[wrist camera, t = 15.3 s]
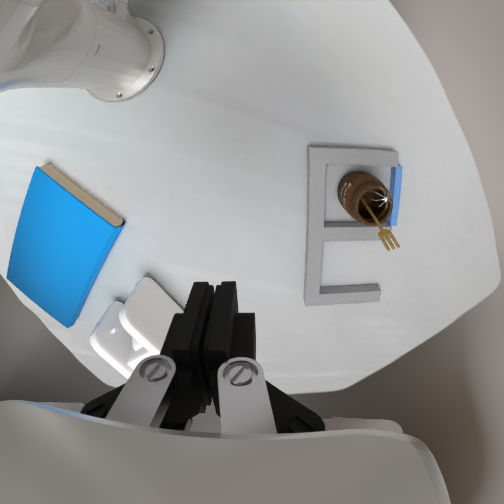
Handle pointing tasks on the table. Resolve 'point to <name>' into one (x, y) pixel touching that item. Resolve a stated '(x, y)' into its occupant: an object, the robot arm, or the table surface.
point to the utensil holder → (367, 202)
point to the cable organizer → (134, 327)
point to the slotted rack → (341, 230)
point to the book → (60, 244)
